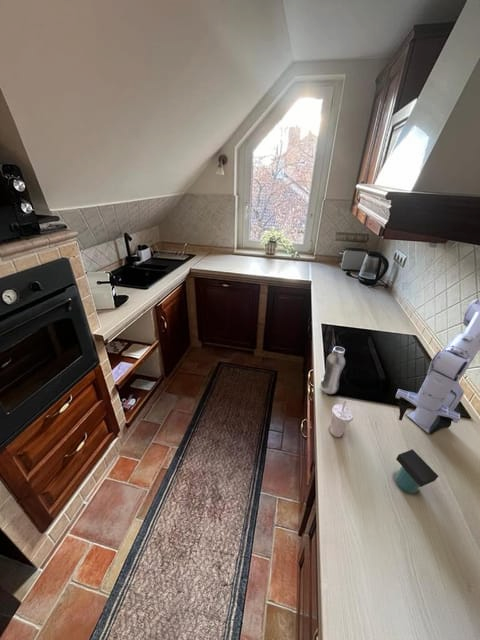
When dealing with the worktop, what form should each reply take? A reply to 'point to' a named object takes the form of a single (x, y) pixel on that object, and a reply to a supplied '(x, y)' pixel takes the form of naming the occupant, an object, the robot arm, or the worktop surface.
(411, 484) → the teal cup
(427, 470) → the black tile
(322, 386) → the plastic bottle
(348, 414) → the smoothie
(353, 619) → the worktop surface
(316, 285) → the worktop surface
